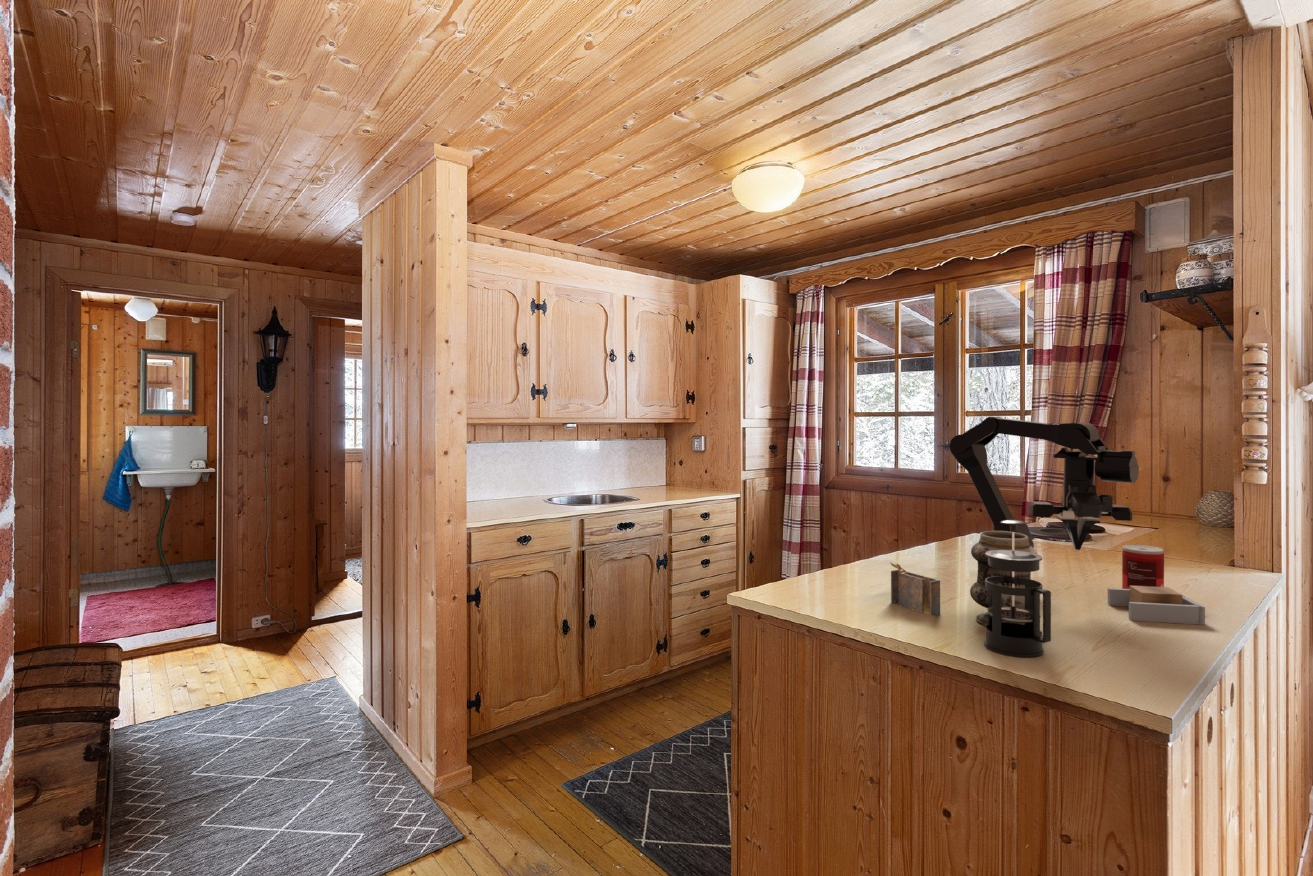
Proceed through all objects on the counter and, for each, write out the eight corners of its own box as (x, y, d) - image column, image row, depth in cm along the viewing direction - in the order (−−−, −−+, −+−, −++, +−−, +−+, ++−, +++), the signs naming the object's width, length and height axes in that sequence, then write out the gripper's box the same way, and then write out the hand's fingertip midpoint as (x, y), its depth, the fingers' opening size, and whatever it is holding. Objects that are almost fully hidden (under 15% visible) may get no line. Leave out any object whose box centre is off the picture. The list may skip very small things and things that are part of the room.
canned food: (1149, 591, 152) (1149, 544, 151) (1172, 600, 144) (1173, 551, 144) (1114, 591, 153) (1114, 544, 152) (1136, 600, 145) (1136, 551, 144)
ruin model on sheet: (889, 604, 146) (889, 561, 146) (899, 603, 147) (899, 560, 147) (929, 618, 136) (929, 572, 136) (940, 616, 137) (940, 570, 137)
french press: (969, 643, 119) (968, 518, 119) (1004, 635, 123) (1003, 514, 123) (1029, 664, 109) (1029, 528, 108) (1065, 655, 113) (1065, 523, 112)
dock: (1130, 620, 131) (1130, 603, 131) (1107, 603, 142) (1107, 588, 142) (1204, 624, 127) (1205, 607, 127) (1174, 607, 139) (1175, 591, 139)
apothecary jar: (1012, 636, 122) (1012, 541, 122) (957, 619, 133) (956, 532, 133) (1051, 626, 128) (1051, 535, 128) (994, 610, 139) (994, 527, 138)
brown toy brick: (1142, 617, 132) (1142, 593, 132) (1128, 607, 139) (1128, 584, 139) (1183, 620, 130) (1183, 595, 130) (1166, 610, 137) (1167, 586, 137)
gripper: (1040, 482, 138) (1038, 554, 139) (1143, 484, 133) (1141, 560, 133) (1028, 476, 149) (1026, 544, 150) (1123, 479, 143) (1121, 549, 144)
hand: (1077, 549), depth 144 cm, fingers closed
